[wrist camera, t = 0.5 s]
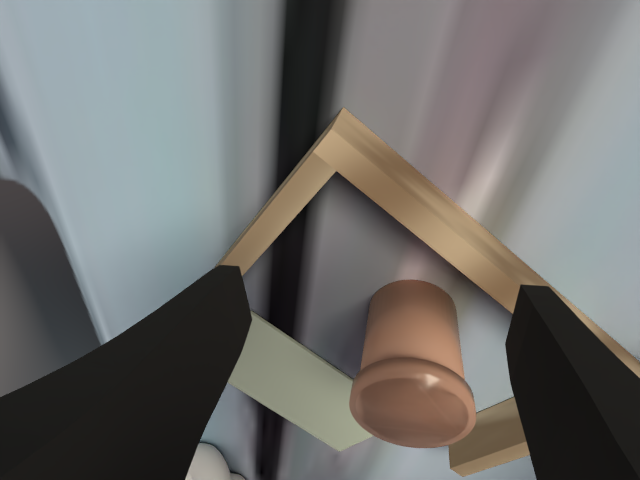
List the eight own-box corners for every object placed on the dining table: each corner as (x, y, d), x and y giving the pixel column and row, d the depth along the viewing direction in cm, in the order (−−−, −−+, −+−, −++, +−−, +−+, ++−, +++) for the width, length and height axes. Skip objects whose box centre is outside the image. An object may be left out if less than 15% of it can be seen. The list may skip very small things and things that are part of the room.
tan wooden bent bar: (638, 360, 22) (666, 409, 19) (459, 434, 28) (462, 476, 26) (343, 107, 17) (331, 128, 15) (215, 266, 24) (192, 299, 22)
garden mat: (407, 416, 29) (407, 419, 28) (339, 449, 33) (339, 451, 33) (251, 310, 26) (249, 312, 25) (199, 362, 30) (198, 364, 30)
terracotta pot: (483, 316, 22) (504, 422, 17) (412, 358, 25) (411, 459, 20) (411, 258, 21) (409, 353, 16) (345, 310, 24) (325, 404, 19)
